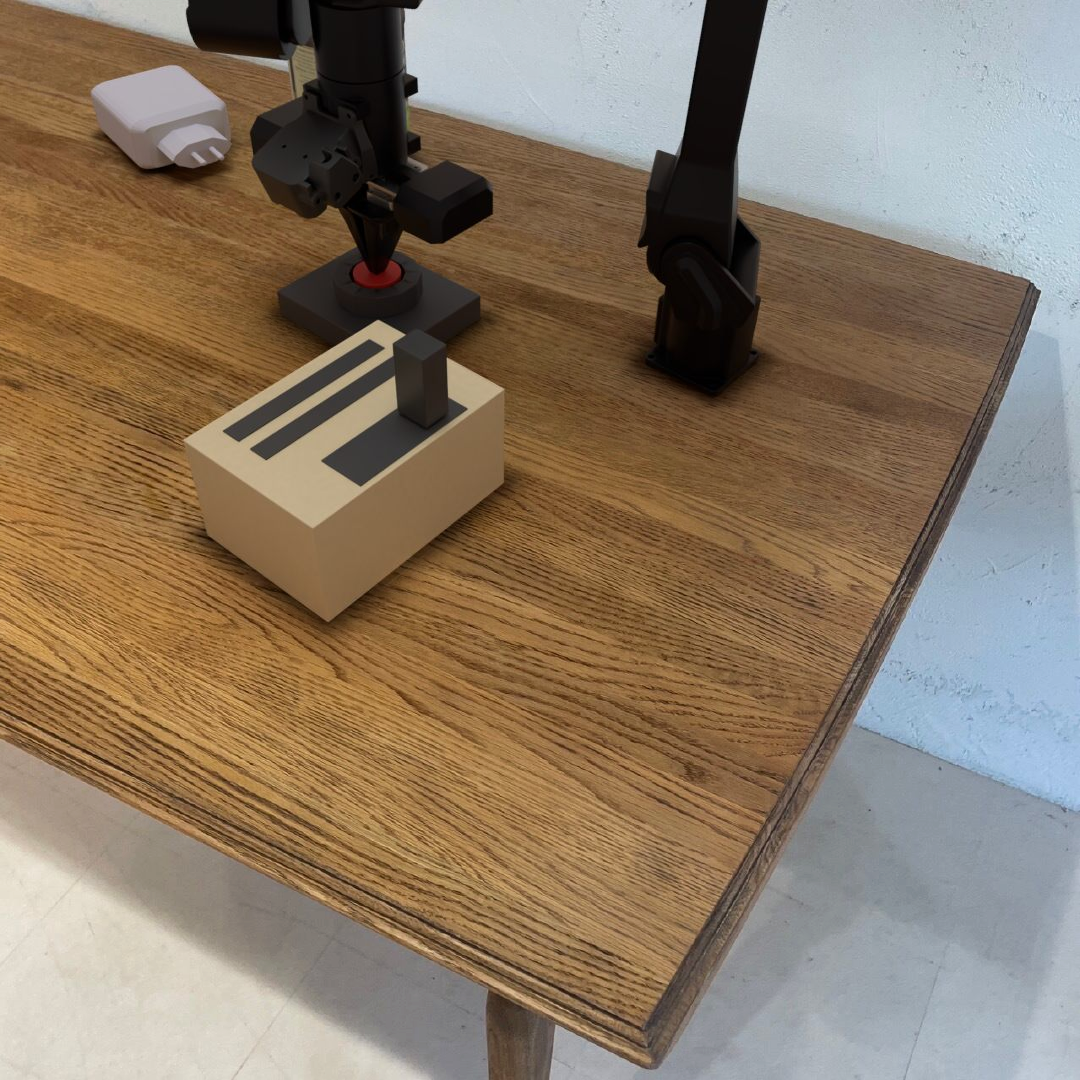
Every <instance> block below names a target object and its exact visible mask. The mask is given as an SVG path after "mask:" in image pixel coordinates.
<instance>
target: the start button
mask: <svg viewBox="0 0 1080 1080" xmlns="http://www.w3.org/2000/svg"><path fill="white" fill-rule="evenodd" d="M353 278H354V283H355V284H357V285H359V286H361V287H364V288H372V289H381V288H387V287H392V286H393V285H395V284H397V283H398V282H400V281H402V278H401V269H400V267H399V266H398V264H396V263H395V262H393V261H391V260H390V262H389V264H388V266H387V268H386V270H385V271H384V272H382V273H380V274H378V275H376V274H374V273H372V272H370V271H369V270H368V269H367V266H366V264H365V262H364V261H363V262H361V263H359V264H358V265H357V266H356V267H355V268H354V270H353Z"/></svg>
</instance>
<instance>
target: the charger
mask: <svg viewBox="0 0 1080 1080" xmlns="http://www.w3.org/2000/svg"><path fill="white" fill-rule="evenodd" d="M90 97H91V101H92V106H93V110H94V113H95V116H96V117H95V118H96V120H97V125H98V127H99V129H100V130H101V131H102V132H103V133H104V134H105V135H106V136H107V137H108V138H109V139H110V140H111V141H112V142H114V143H115V145H117V146H118V147H119V148H120V150H122V151H123V153H125V154H126V155H127V156H128V157H129V158H130V159H131V160H132V161H133V162H134V163H135V164H136V165H137V166H138V167H139V168H142V169H145V170H150V169H151V170H152V169H153V170H154V169H157V168H161V167H166V166H169V165H172V164H176V165H177V166H179V167H185V168H189V169H190V168H191V169H196V168H199V167H202V166H203V167H205V166H207V165H208V164H213V163H215V162H218V161H224V160H225V156H224V155H225V154H227V153H228V152H229V150H230V149H231V147H232V145H233V143H232V142H231V141H232V132H231V127H230V120H229V116H228V115H229V114H228V109H227V108H228V107H227V105H226V103H225V101H223V100H222V98H219V97H218V96H217V95H216V94H215V93H213V92H212V91H211V90H210V89H209V88H208V87H206V86H205V85H204V84H203V83H201V82H200V81H199V80H198V79H196V78H195V77H194V76H193V75H192V74H190V73H189V71H187V70H185V69H184V68H183V67H181V66H180V65H176V64H175V65H173V64H171V65H170V64H169V65H164V66H160V67H157V68H152V69H149V70H145V71H141V72H137V73H133V74H129V75H126V76H122V77H117V78H114V79H109V80H106V81H102V82H100V83H99V84H97V85H95V86H94V87H93V88H92V89H91V91H90Z"/></svg>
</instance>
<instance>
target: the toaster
mask: <svg viewBox="0 0 1080 1080" xmlns="http://www.w3.org/2000/svg"><path fill="white" fill-rule="evenodd" d="M403 336H405V334H403V333H401V332H400V331H398V330H396V329H394V328H392V327H391V326H389V325H387V324H385V323H383V322H381V321H380V320H377V321H375V322H374V323H372V324H370V325H369V326H367V327H366V328H364V329H362V330H361V331H359V332H357V333H356V334H354V335H353V336H351V337H349V338H348V339H346V340H344V341H343V342H341V343H340V344H338V345H336V346H333V347H331V348H330V349H328V350H327V351H325V352H323V353H322V354H319V356H316V357H315V358H313V359H312V360H310V361H308V362H307V363H305V364H304V365H302V366H301V367H299V368H297V369H295V370H294V371H292V372H291V373H289V374H288V375H285V376H283V378H281V379H280V380H278V381H276V382H274V383H273V384H271V385H270V386H268V387H267V388H265V389H263V390H262V391H259V393H257V394H255V395H253V396H252V397H250V398H248V399H247V400H245V401H244V402H241V404H238V405H237V406H236V407H234V408H233V409H231V410H229V411H228V412H225V414H224V413H223V415H221V416H220V417H218V418H216V419H215V420H213V421H211V422H209V423H208V424H207V425H205V426H203V427H202V428H200V429H199V430H197V431H195V432H193V433H192V434H190V435H189V436H187V437H186V438H183V440H182V441H183V442H182V443H183V446H184V449H185V455H186V457H187V461H188V465H189V468H190V473H191V476H192V481H193V484H194V488H195V492H196V496H197V500H198V505H199V507H200V508H199V509H200V512H201V516H202V519H203V523H204V527H205V531H206V535H207V536H208V537H210V538H211V539H212V540H213V541H215V543H218V544H219V545H221V546H222V547H223V548H225V549H226V550H227V551H229V553H231V554H233V555H234V556H235V557H236V558H238V559H239V560H241V561H243V562H244V563H245V564H247V565H248V566H249V567H251V568H252V569H254V570H255V571H256V572H257V573H259V574H260V575H262V576H263V577H264V578H266V579H267V580H269V581H270V582H271V583H273V584H274V585H275V586H277V587H278V588H280V589H281V590H283V591H284V592H285V593H286V594H287V595H289V596H291V597H292V598H293V599H294V600H296V601H297V602H299V603H301V604H302V605H303V606H305V607H306V608H307V609H308V610H310V611H311V612H313V613H314V614H316V615H317V616H318V617H319V618H321V619H322V620H324V621H325V622H326V623H330V622H331V621H332V620H334V619H335V618H336V617H337V616H338V615H340V614H341V613H342V612H343V611H345V610H346V609H347V608H348V607H350V606H351V605H352V604H354V603H355V602H356V601H357V600H358V599H360V598H361V597H362V596H364V595H365V594H366V593H368V592H369V591H370V590H371V589H373V588H374V587H375V586H376V585H378V584H379V583H380V582H382V580H383V579H385V578H386V577H388V576H389V575H390V574H391V573H392V572H394V571H395V570H396V569H397V568H399V567H401V565H402V564H404V563H405V562H406V561H407V560H409V559H410V558H411V557H413V556H414V555H415V554H416V553H418V552H419V551H420V550H422V549H423V548H425V546H426V545H428V544H429V543H430V542H432V540H434V539H435V538H436V537H437V536H440V534H441V533H443V532H444V531H445V530H447V529H448V528H449V527H450V526H452V525H453V524H454V523H455V522H456V521H458V520H459V519H461V518H462V517H463V516H464V515H465V514H467V513H468V512H469V511H471V509H473V508H474V507H476V506H477V505H478V504H479V503H481V502H482V501H483V500H484V499H485V498H487V497H488V496H489V495H490V494H492V493H493V492H494V491H496V490H497V489H499V487H501V486H502V485H503V484H504V483H505V478H504V477H505V475H504V474H505V397H506V396H505V394H506V393H505V388H504V387H501V386H499V385H498V384H496V383H494V382H492V381H491V380H489V379H487V378H485V377H483V376H481V375H480V374H477V373H476V372H474V371H473V370H471V369H469V368H468V367H465V366H464V365H461V364H460V363H458V362H456V361H454V360H452V359H451V358H448V357H447V376H448V404H449V412H448V413H447V414H445V415H444V416H443V417H441V418H440V419H438V420H437V421H436V422H434V423H433V424H431V425H430V426H429V427H427V428H425V427H424V426H422V425H420V424H419V423H417V422H415V421H414V420H412V419H410V418H408V417H407V416H405V415H403V414H402V413H400V412H398V409H397V397H396V384H395V371H394V358H393V345H392V344H393V343H394V342H395V341H397V340H399V339H400V338H402V337H403Z"/></svg>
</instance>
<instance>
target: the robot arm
mask: <svg viewBox="0 0 1080 1080" xmlns="http://www.w3.org/2000/svg"><path fill="white" fill-rule="evenodd" d="M423 1H424V0H187V7H186V8H185V18H186V24H187V28H188V31H189V34H190V37H191V39H192V41H193V44H194V45H195V46H196V48H198V49H199V50H200V51H201V52H206V53H214V54H215V53H216V54H224V55H230V56H231V55H232V56H241V57H249V58H250V57H251V58H257V59H267V60H268V59H269V60H277V61H284V62H285V61H286V62H288V61H287V60H289V59H291V58H292V56H293V55H294V53H295V50H296V48H297V45H299V46H304V45H305V44H306V43H307V41H308V39H309V36H310V33H311V29H312V37H313V46H314V55H315V64H316V73H317V78H316V79H314V80H311V81H309V82H307V83H304V87H305V91H303V93H302V96H301V97H299V98H296V99H294V100H293V99H292V100H289V101H287V102H285V103H282V104H280V105H278V106H276V107H274V108H272V109H270V110H266V111H265V112H263V113H260V114H258V115H256V118H255V120H254V122H253V124H252V126H251V129H250V131H249V137H250V143H251V151H252V155H253V157H252V158H251V161H250V162H251V166H252V168H253V170H254V172H255V174H256V175H257V177H258V179H259V181H260V183H261V185H262V187H263V188H264V190H265V193H266V194H267V196H268V198H269V199H270V201H271V202H272V203H274V204H275V205H279V206H280V205H281V206H282V207H284V208H286V209H288V210H290V211H292V212H294V213H295V214H296V215H297V216H298V217H300V218H303V219H306V220H310V219H316V218H318V217H320V216H321V215H322V214H323V213H324V212H325V211H326V210H327V208H328V206H329V207H332V208H334V209H338V211H339V213H340V215H341V217H342V218H343V220H344V223H345V224H346V226H347V228H348V230H349V232H350V234H351V237H352V239H353V241H354V243H355V245H356V247H358V249H359V252H360V254H361V256H362V258H363V260H364V262H365V264H366V266H367V269H368V270H369V271H370V272H372V273H374V274H376V275H378V274H380V273H382V272H384V271H385V270H386V268H387V266H388V264H389V262H390V259H391V257H392V255H393V253H394V251H396V248H397V246H398V244H399V241H400V239H401V237H402V235H403V232H405V233H407V234H409V235H412V236H413V237H416V238H417V239H420V240H421V241H423V242H426V243H427V244H430V245H443V244H445V243H447V242H449V241H450V240H452V239H454V238H455V237H457V236H459V235H461V234H462V233H464V232H465V231H467V230H469V229H471V228H472V227H474V226H476V225H477V224H479V223H481V222H483V221H484V220H486V219H488V218H489V217H491V216H493V215H494V188H493V183H492V182H490V181H489V179H487V178H486V177H484V176H483V175H481V174H479V173H478V172H477V173H476V172H474V171H472V170H469V169H467V168H465V167H463V166H461V165H458V164H456V163H454V162H452V161H451V160H447V159H446V160H444V161H442V162H440V163H438V164H436V165H434V166H432V167H431V168H429V166H428V165H427V164H425V163H423V162H420V161H418V160H415V159H413V158H412V159H411V158H409V157H408V156H410V155H411V156H413V154H415V153H418V152H419V151H421V150H422V142H421V140H422V139H421V135H419V134H417V133H414V132H412V131H411V130H410V131H408V130H407V113H406V98H408V99H409V98H410V97H412V96H414V95H416V94H418V93H419V81H418V79H419V78H418V77H417V76H415V75H412V74H410V73H408V72H407V73H405V72H404V63H403V46H402V29H401V11H400V8H404V10H417V9H419V7H420V6H421V4H422V2H423ZM768 4H769V0H705V5H704V11H703V18H702V22H701V23H702V24H701V27H700V28H701V29H700V34H699V41H698V46H697V53H696V59H695V64H694V71H693V75H692V82H691V88H690V93H689V94H690V95H689V99H688V106H687V111H686V118H685V123H684V129H683V134H682V135H683V136H682V137H681V141H680V143H679V145H678V148H677V149H676V152H675V154H674V153H670V152H667V151H664V150H661V149H656V151H655V155H654V159H653V163H652V167H651V171H650V175H649V179H648V182H647V186H646V190H645V211H644V215H643V220H642V223H641V227H640V231H639V236H638V240H637V248H638V249H642V248H645V247H647V248H646V253H645V260H646V266H647V270H648V272H649V273H650V275H653V277H654V278H656V281H658V282H659V283H660V284H661V285H663V286H664V292H663V294H661V295H660V296H659V297H658V298H657V299H658V300H657V307H656V314H655V324H654V331H653V337H652V338H653V343H654V344H656V345H655V346H654V347H653V348H652V349H650V350H649V351H648V352H647V353H645V355H644V363H645V364H646V365H648V366H651V367H652V368H654V369H656V370H658V371H660V372H662V373H664V374H666V375H668V376H670V377H672V378H674V379H675V380H678V381H680V382H682V383H684V384H686V385H688V386H690V387H692V388H694V389H696V390H698V391H700V392H702V393H703V394H706V395H708V396H710V397H715V396H718V395H720V393H722V392H723V391H724V390H725V389H726V388H728V387H729V386H731V384H732V383H733V382H734V381H736V380H737V379H738V378H740V376H741V375H743V374H744V373H745V372H746V371H747V370H748V369H750V367H752V366H753V365H754V364H755V363H756V362H757V361H759V359H760V355H761V353H760V351H759V350H758V349H756V348H753V347H752V346H753V341H754V336H755V331H756V327H757V322H758V318H759V317H758V316H759V311H760V306H761V302H762V297H761V296H760V295H758V294H757V289H758V277H759V267H760V258H761V247H762V241H761V239H760V238H759V237H758V236H757V234H756V233H755V232H754V231H753V230H752V228H751V227H750V225H748V224H747V222H745V220H744V219H743V218H742V217H741V216H740V214H739V213H738V211H739V173H740V172H739V143H740V137H741V134H742V128H743V123H744V119H745V115H746V109H747V105H748V100H749V95H750V90H751V85H752V81H753V76H754V71H755V66H756V61H757V57H758V53H759V52H758V51H759V47H760V41H761V37H762V33H763V27H764V23H765V18H766V13H767V8H768Z"/></svg>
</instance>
